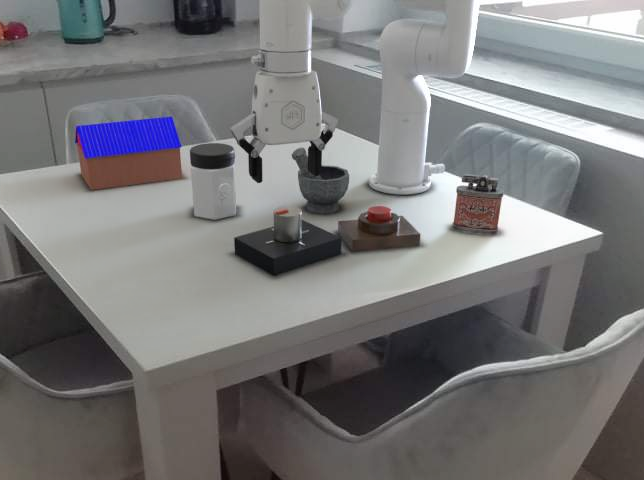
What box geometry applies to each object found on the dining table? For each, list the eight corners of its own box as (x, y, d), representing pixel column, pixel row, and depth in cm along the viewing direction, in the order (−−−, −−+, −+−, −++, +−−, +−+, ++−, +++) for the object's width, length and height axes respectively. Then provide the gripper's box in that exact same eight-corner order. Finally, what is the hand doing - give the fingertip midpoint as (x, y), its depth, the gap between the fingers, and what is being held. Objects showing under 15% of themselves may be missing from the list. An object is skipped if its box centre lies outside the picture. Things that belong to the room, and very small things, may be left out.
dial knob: (290, 229, 127) (290, 202, 124) (307, 238, 124) (307, 210, 121) (268, 236, 125) (267, 208, 122) (285, 244, 121) (285, 216, 119)
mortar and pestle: (336, 197, 150) (337, 136, 144) (356, 212, 143) (359, 149, 136) (283, 204, 147) (282, 142, 140) (301, 220, 139) (301, 156, 133)
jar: (204, 223, 138) (200, 158, 132) (184, 210, 144) (179, 147, 138) (246, 213, 142) (244, 150, 136) (225, 201, 148) (222, 140, 142)
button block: (401, 227, 136) (403, 205, 134) (419, 245, 129) (421, 223, 127) (337, 232, 134) (338, 211, 132) (352, 252, 126) (353, 229, 124)
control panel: (300, 234, 133) (300, 217, 131) (341, 254, 126) (341, 236, 124) (234, 254, 126) (233, 236, 124) (273, 276, 118) (273, 257, 117)
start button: (386, 214, 131) (386, 205, 131) (393, 222, 128) (394, 213, 127) (364, 216, 131) (364, 206, 130) (371, 224, 127) (372, 214, 126)
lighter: (498, 229, 135) (506, 174, 130) (496, 236, 132) (505, 180, 127) (453, 224, 137) (459, 170, 132) (450, 230, 135) (457, 175, 129)
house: (184, 178, 161) (179, 122, 155) (89, 190, 154) (81, 133, 148) (169, 163, 170) (164, 110, 164) (79, 174, 163) (71, 119, 157)
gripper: (238, 70, 104) (241, 190, 113) (350, 62, 110) (345, 177, 119) (221, 61, 110) (225, 176, 119) (328, 54, 116) (325, 165, 125)
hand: (285, 177), depth 119 cm, fingers open, 9 cm apart
